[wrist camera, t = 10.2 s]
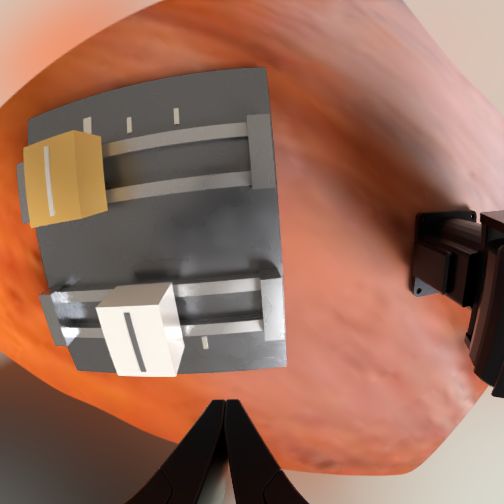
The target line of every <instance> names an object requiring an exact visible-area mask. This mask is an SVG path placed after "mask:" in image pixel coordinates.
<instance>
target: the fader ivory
mask: <svg viewBox="0 0 504 504" xmlns="http://www.w3.org/2000/svg"><path fill="white" fill-rule="evenodd" d="M96 311H97V314H98V318H99V321H100V324H101V328H102V331H103V334H104V337H105V340H106V343H107V346H108V349H109V352H110V355H111V358H112V361H113V364H114V366H115V369H116V372H117V374H118V376H147V377H176V375H177V372H178V368H179V365H180V361H181V357H182V354H183V350H184V347H185V346H184V341H183V337H182V332H181V327H180V322H179V317H178V312H177V307H176V302H175V297H174V291H173V286H172V282H166V283H153V284H139V285H125V286H117V287H116V288H115V289H113V290H112V291H111V292H110V293H109V294H108V295H107V296H106V297H105V298H104V299H103V300H102V302H101V303H100V304H99V305H98V306H97V307H96Z"/></svg>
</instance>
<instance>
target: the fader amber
mask: <svg viewBox="0 0 504 504" xmlns="http://www.w3.org/2000/svg"><path fill="white" fill-rule="evenodd" d="M23 157H24V175H25V187H26V196H27V205H28V212H29V219H30V226H31V228H34V227H39V226H44V225H49V224H55V223H60V222H66V221H71V220H77V219H82V218H85V217H88V216H92V215H95V214H98V213H101V212H105V211H108V208H107V200H106V191H105V182H104V172H103V160H102V144H101V136H97V135H93V134H89V133H85V132H81V131H76V130H72V131H69V132H66V133H63V134H60V135H57V136H54V137H51V138H48V139H45V140H42V141H40V142H37V143H34V144H32V145H29V146H27V147H24V148H23Z"/></svg>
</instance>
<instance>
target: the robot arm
mask: <svg viewBox="0 0 504 504" xmlns="http://www.w3.org/2000/svg"><path fill="white" fill-rule="evenodd" d="M471 215H472V217H471ZM422 217H424V220H423V222H422V221H421V219H422ZM476 218H477V216H476V212H475V211H472V210H458V211H432V212H420V213H418V214H417V216H416V234H415V243H414V259H413V272H412V274H413V280H412V294H413V295H415V296H416V297H420V296H425V295H430V294H434V293H441V294H442V295H445V296H447V297H449V298H450V299H452V300H453V301H454V302H456V303H457V304H459V305H460V306H462V307H467V308H468V309H470V310H471V311H472V313H471V318H470V323H469V328H468V332H467V333H466V335H465V339H464V341H465V343H466V345H467V347H468V349H469V351H470V352H469V356H470V358H471V360H472V363H473V365H474V366H475V367H474V373H475V374H476V375H477V376H478V377H479V378H480V379H481V380H482V381H483V382H485V383H486V384H488V385H489V386H492V387H494V389H493V391H492V393H491V394H492V396H494V397H501V398H504V210H503V211H493V212H482V213H480V222H481V224H478V223H476ZM418 288H419V290H418V291H417V289H418ZM228 462H229V466H230V472H231V478H232V484H233V489H234V495H235V500H236V504H309V503H308V502H307V501H306V500H305V499H304V498H303V497H302V495H301V494H300V493H299V492H298V491H297V490H296V489H295V487H294V486H293V485H292V483H291V482H290V481H289V479H288V478H287V476H286V475H285V473H284V472H283V470H281V467H280V466H279V464H278V463H277V461H276V460H275V458H274V457H273V455H272V453H271V452H270V450H269V449H268V447H267V445H266V444H265V442H264V441H263V439H262V437H261V436H260V434H259V432H258V431H257V429H256V428H255V426H254V424H253V423H252V421H251V419H250V417H249V416H248V414H247V412H246V411H245V409H244V407H243V405H242V404H241V402H240V400H238V399H230V400H226V401H225V400H212V401H211V403H210V404H209V405H208V407H207V408H206V409H205V411H204V412H203V413H202V415H201V416H200V417H199V418H198V420H197V421H196V422H195V424H194V425H193V426H192V428H191V429H190V430H189V431H188V433H187V434H186V435H185V437H184V438H183V439H182V440H181V442H180V443H179V444H178V445H177V447H176V448H175V449H174V451H173V452H172V453H171V454H170V456H169V457H168V458H167V459H166V461H165V462H164V463H163V464H162V466H161V467H160V469H158V470H157V471H156V472H155V474H154V475H153V476H152V477H151V478H150V479H149V481H148V482H147V483H146V484H145V485H144V486H143V487H142V488H141V489H140V490H139V491H138V492H137V493H136V494H135V495H133V496H132V497H131V498H130V499H129V500H128V501H127V502H125V503H124V504H223V501H224V494H225V485H226V478H227V471H228Z"/></svg>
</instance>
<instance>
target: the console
mask: <svg viewBox="0 0 504 504" xmlns="http://www.w3.org/2000/svg"><path fill="white" fill-rule="evenodd" d="M72 130H76V131H81V132H85V133H89V134H93V135H97V136H101V144H102V160H103V172H104V182H105V191H106V200H107V208H108V211H105V212H101V213H98V214H95V215H92V216H88V217H85V218H82V219H77V220H71V221H66V222H60V223H55V224H49V225H44V226H39V227H36V232H37V237H38V243H39V248H40V253H41V257H42V262H43V266H44V270H45V275H46V279H47V282H48V286H49V288H48V289H47V290H45V291H44V292H42V293H41V294H40V295H39V298H40V302H41V305H42V308H43V311H44V314H45V317H46V320H47V323H48V326H49V329H50V332H51V335H52V337H53V340H54V343H55V345H56V346H68V348H69V351H70V353H71V356H72V358H73V361H74V363H75V366H76V368H77V370H79V371H92V372H107V373H117V372H116V369H115V366H114V364H113V361H112V358H111V355H110V352H109V349H108V346H107V343H106V340H105V337H104V334H103V331H102V328H101V324H100V321H99V318H98V314H97V311H96V307H97V306H98V305H99V304H100V303H101V302H102V300H103V299H104V298H105V297H106V296H107V295H108V294H109V293H110V292H111V291H112V290H113V289H115V288H116V287H117V286H125V285H139V284H153V283H166V282H172V286H173V291H174V297H175V302H176V307H177V312H178V317H179V322H180V327H181V332H182V337H183V341H184V346H185V347H184V350H183V354H182V357H181V361H180V365H179V368H178V372H177V374H191V373H215V372H231V371H244V370H255V369H265V368H275V367H283V366H287V360H286V332H285V309H284V288H283V270H282V252H281V236H280V221H279V207H278V193H277V180H276V168H275V156H274V144H273V133H272V122H271V111H270V101H269V91H268V82H267V72H266V67H255V68H239V69H227V70H217V71H208V72H200V73H193V74H186V75H180V76H174V77H168V78H163V79H158V80H153V81H148V82H143V83H139V84H134V85H130V86H126V87H122V88H118V89H114V90H111V91H107V92H104V93H100V94H97V95H93V96H90V97H87V98H84V99H81V100H78V101H75V102H72V103H69V104H66V105H63V106H61V107H58V108H55V109H53V110H50V111H48V112H45V113H43V114H40V115H38V116H35V117H33V118H31V119H28V146H29V145H32V144H34V143H37V142H40V141H42V140H45V139H48V138H51V137H54V136H57V135H60V134H63V133H66V132H69V131H72ZM17 180H18V191H19V200H20V208H21V216H22V222H23V224H24V223H28V222H30V219H29V212H28V205H27V196H26V187H25V175H24V162H22V163H20V164H17Z"/></svg>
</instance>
